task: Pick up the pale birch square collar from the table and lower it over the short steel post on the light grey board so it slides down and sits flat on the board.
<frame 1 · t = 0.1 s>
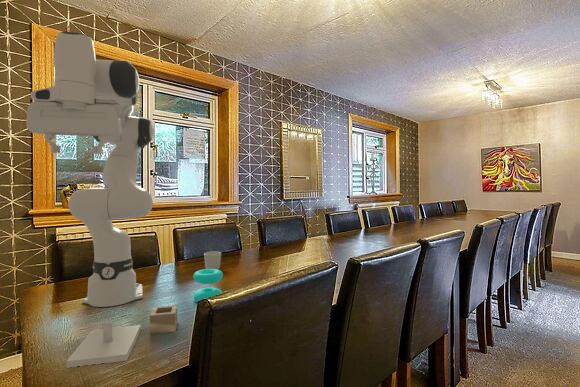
hand: (76, 153, 81), 48 cm above the table, tool pointing down, fingers open, 8 cm apart
cup: (212, 269, 155), on the table
donuts: (208, 300, 112), on the table
post board: (108, 347, 79), on the table
collar: (164, 327, 90), on the table
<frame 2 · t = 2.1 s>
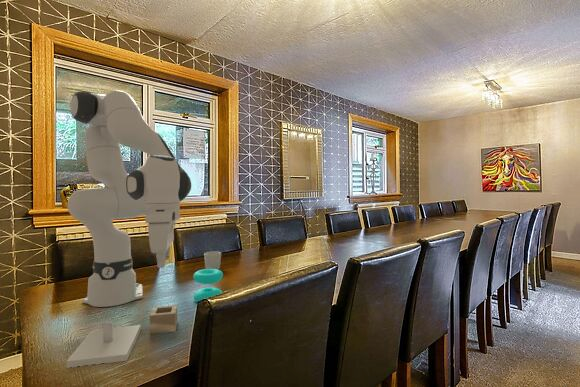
hand: (163, 263, 90), 18 cm above the table, tool pointing down, fingers open, 8 cm apart
nothing on the table moved.
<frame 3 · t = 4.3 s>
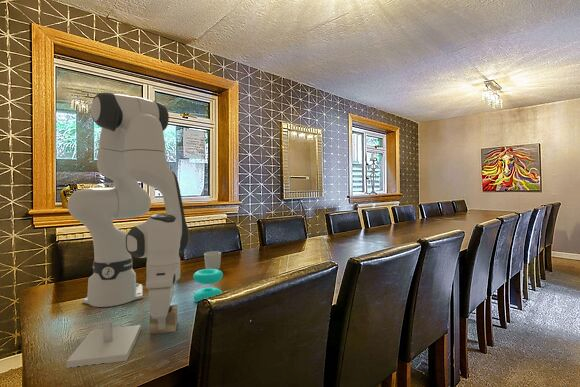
hand: (164, 322, 90), 2 cm above the table, tool pointing down, fingers closed on collar, 6 cm apart
collar: (164, 327, 90), on the table, touching gripper
everything else where it was.
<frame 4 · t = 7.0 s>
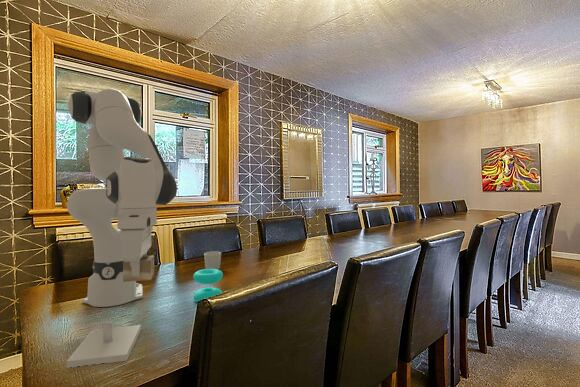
hand: (139, 271, 84), 17 cm above the table, tool pointing down, fingers closed on collar, 6 cm apart
collar: (139, 277, 85), point 16 cm above the table, touching gripper
everything else where it was.
when the fingers open (5 cm above the table, at t = 9.9 s): collar drops 1 cm, resting on post board.
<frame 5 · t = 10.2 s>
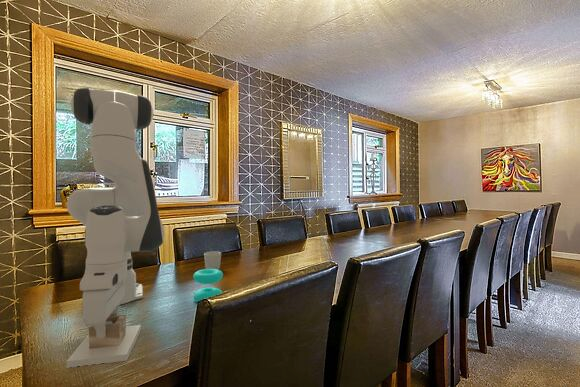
hand: (107, 328, 79), 5 cm above the table, tool pointing down, fingers open, 8 cm apart
collar: (108, 340, 79), point 1 cm above the table, touching post board
everything else where it was.
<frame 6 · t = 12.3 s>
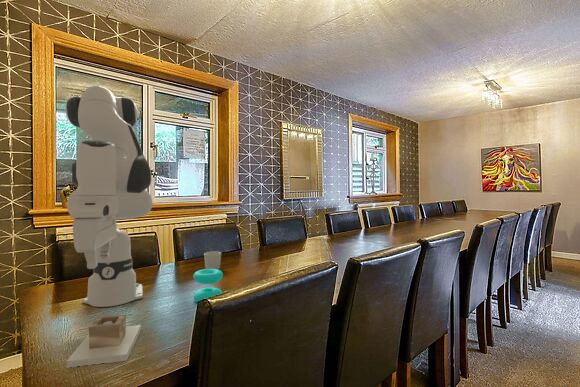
hand: (98, 262, 79), 21 cm above the table, tool pointing down, fingers open, 8 cm apart
nothing on the table moved.
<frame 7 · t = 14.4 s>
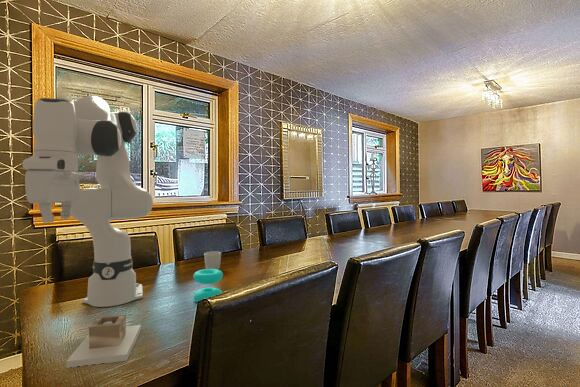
hand: (57, 220, 80), 31 cm above the table, tool pointing down, fingers open, 8 cm apart
nothing on the table moved.
at the end: collar 0.1 cm off-centre on the post board, point 1.5 cm above the post board's base; collar tilted 0°; the gripper is holding nothing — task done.
